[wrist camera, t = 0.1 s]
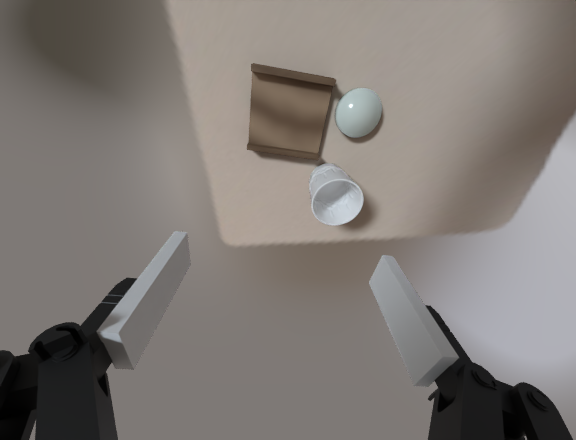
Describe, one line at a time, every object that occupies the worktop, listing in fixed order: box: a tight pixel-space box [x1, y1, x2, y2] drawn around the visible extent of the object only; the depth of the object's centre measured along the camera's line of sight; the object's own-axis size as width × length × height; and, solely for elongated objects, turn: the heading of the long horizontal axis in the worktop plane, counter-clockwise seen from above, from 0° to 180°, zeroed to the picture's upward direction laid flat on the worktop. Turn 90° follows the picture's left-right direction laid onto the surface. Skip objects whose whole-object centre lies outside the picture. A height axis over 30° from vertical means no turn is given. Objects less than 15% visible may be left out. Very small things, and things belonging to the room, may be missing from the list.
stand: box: [247, 63, 336, 160], centre depth 34 cm, size 12×12×3 cm
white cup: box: [309, 163, 364, 225], centre depth 37 cm, size 8×8×10 cm
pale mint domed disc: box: [335, 88, 382, 138], centre depth 35 cm, size 7×7×2 cm
